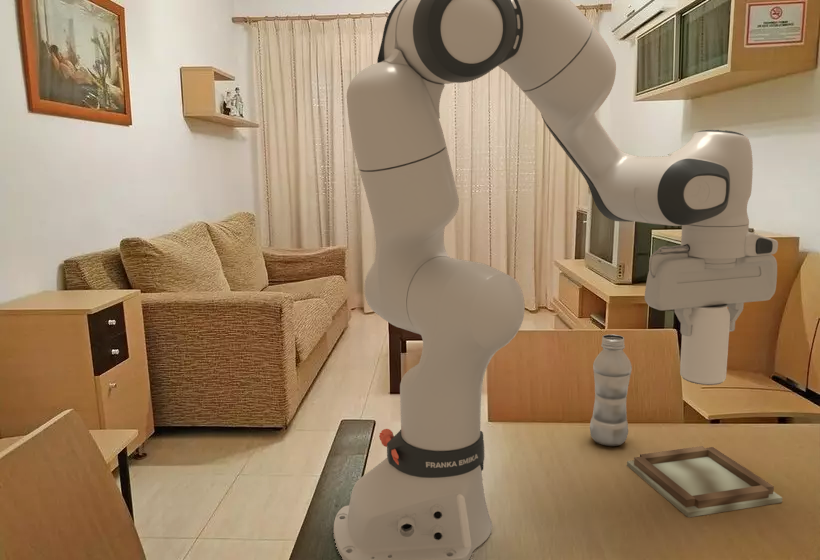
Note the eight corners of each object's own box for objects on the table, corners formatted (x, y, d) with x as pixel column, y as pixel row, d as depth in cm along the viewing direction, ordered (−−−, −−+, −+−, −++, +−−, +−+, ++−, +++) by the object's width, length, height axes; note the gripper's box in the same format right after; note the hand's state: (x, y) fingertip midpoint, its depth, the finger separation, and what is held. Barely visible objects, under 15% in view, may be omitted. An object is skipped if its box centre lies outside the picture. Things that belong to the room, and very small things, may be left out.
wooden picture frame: (687, 517, 90) (688, 504, 90) (626, 465, 105) (627, 454, 105) (781, 502, 93) (783, 490, 93) (709, 454, 109) (710, 443, 108)
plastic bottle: (586, 434, 118) (590, 331, 114) (624, 435, 117) (629, 332, 113) (591, 449, 111) (596, 342, 107) (631, 451, 110) (636, 343, 107)
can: (735, 383, 94) (741, 305, 92) (698, 388, 92) (703, 309, 90) (706, 369, 100) (710, 296, 98) (670, 374, 99) (674, 300, 96)
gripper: (664, 250, 87) (659, 345, 90) (788, 241, 91) (779, 332, 94) (638, 244, 93) (634, 333, 96) (755, 236, 97) (748, 321, 100)
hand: (707, 332), depth 95 cm, fingers closed on can, 5 cm apart
